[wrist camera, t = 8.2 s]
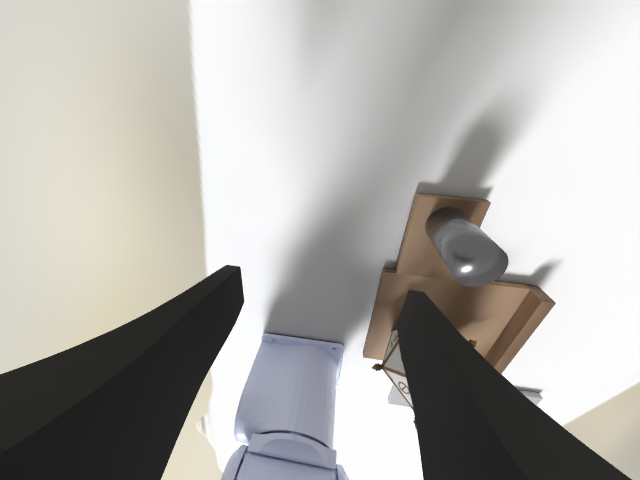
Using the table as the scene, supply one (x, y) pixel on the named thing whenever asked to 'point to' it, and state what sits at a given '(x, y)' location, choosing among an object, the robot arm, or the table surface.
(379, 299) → the brown base with post
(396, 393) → the broken grey strip
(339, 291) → the table surface
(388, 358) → the game die
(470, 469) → the robot arm
